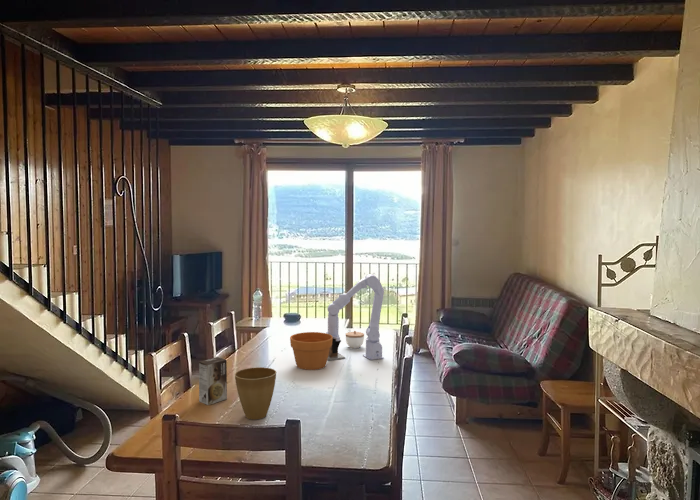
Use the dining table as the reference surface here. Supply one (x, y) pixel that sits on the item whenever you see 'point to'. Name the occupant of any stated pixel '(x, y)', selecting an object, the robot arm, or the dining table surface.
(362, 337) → the lidded jar
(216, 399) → the coffee box
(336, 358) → the slate tile
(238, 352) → the dining table surface
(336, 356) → the walnut block
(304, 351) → the flower pot
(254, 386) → the plant pot
